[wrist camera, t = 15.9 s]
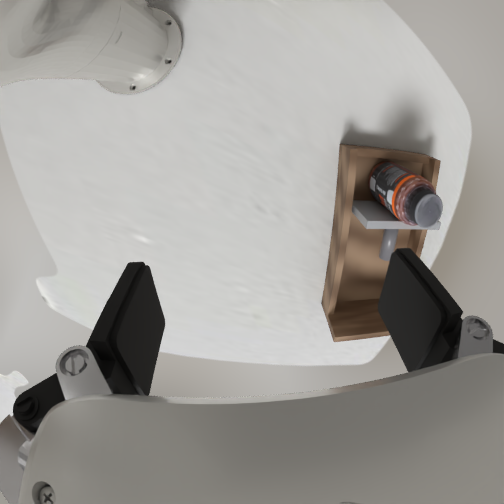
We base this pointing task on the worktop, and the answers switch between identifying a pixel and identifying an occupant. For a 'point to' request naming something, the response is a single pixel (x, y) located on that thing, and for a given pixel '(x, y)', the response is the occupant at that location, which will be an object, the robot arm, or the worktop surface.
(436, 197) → the supplement bottle
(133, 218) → the worktop surface
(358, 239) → the pusher lane
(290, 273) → the worktop surface
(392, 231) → the pusher plate
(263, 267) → the worktop surface
